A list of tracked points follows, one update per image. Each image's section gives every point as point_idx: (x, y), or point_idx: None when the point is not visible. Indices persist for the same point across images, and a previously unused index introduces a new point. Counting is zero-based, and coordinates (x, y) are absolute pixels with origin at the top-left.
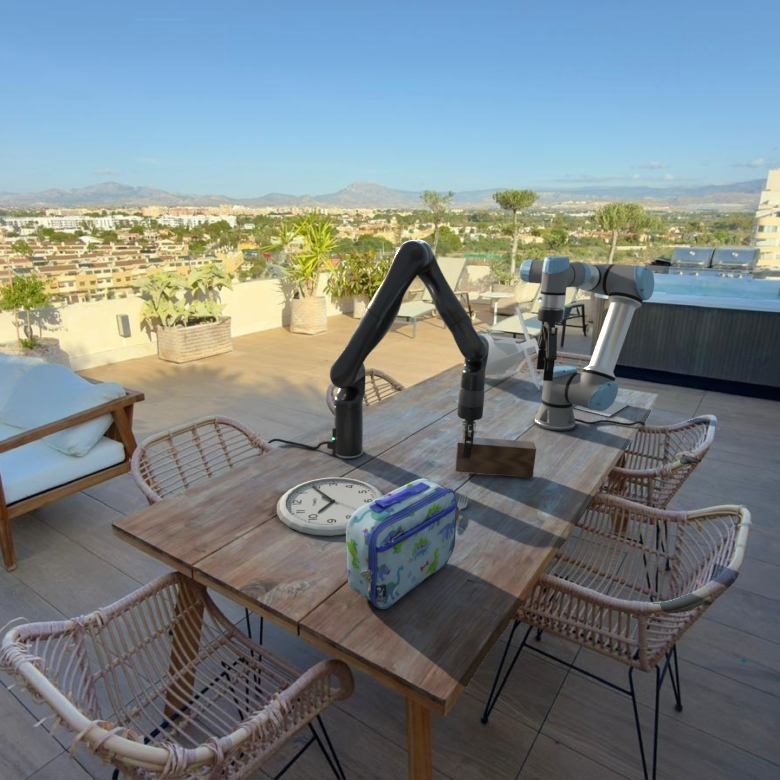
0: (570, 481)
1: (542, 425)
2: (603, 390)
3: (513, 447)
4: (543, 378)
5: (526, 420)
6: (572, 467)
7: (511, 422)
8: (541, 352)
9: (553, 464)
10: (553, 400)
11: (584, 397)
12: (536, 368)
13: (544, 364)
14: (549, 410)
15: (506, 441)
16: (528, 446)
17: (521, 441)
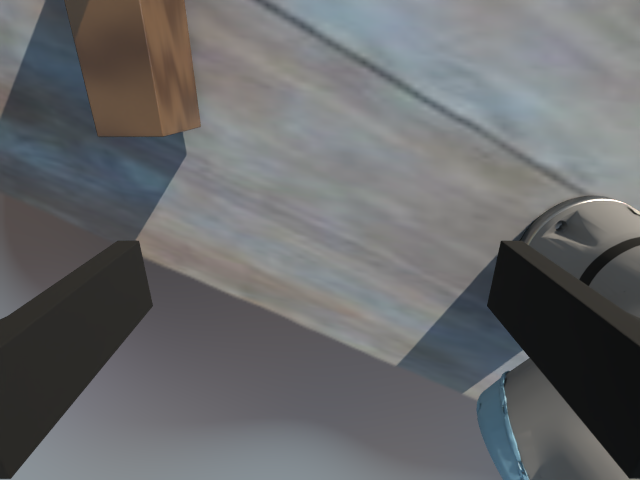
0: (184, 224)
1: (549, 215)
2: (500, 468)
3: (76, 44)
4: (108, 248)
5: (621, 171)
6: (268, 244)
7: (609, 115)
8: (626, 386)
9: (276, 201)
10: (609, 279)
11: (524, 387)
12: (522, 241)
13: (513, 325)
14: (584, 251)
15: (122, 17)
16: (108, 109)
17: (148, 86)
